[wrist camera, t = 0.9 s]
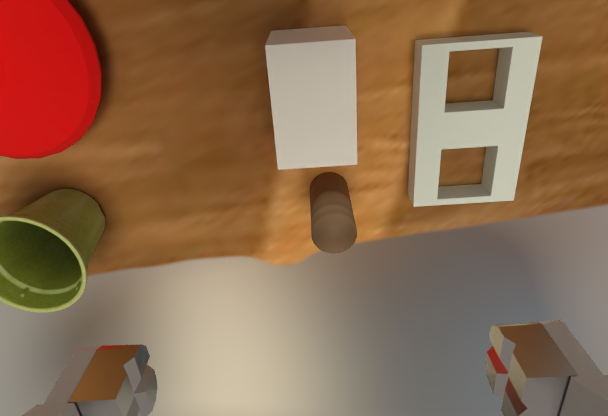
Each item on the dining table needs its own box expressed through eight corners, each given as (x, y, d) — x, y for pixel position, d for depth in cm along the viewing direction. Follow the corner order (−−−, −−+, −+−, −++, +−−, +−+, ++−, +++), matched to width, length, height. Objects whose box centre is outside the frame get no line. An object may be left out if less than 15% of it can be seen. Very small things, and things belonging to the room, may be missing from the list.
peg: (308, 173, 42) (310, 216, 35) (347, 171, 42) (356, 213, 35) (311, 207, 44) (312, 254, 37) (348, 205, 44) (357, 251, 37)
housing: (271, 30, 36) (265, 45, 30) (346, 25, 36) (355, 38, 30) (281, 137, 40) (278, 169, 34) (348, 133, 40) (357, 164, 34)
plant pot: (14, 231, 45) (-44, 287, 37) (35, 154, 41) (-25, 198, 33) (106, 267, 47) (69, 327, 40) (135, 197, 43) (100, 248, 36)
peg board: (415, 39, 36) (422, 45, 34) (527, 31, 36) (542, 36, 34) (407, 194, 43) (413, 206, 41) (502, 188, 43) (513, 200, 41)
